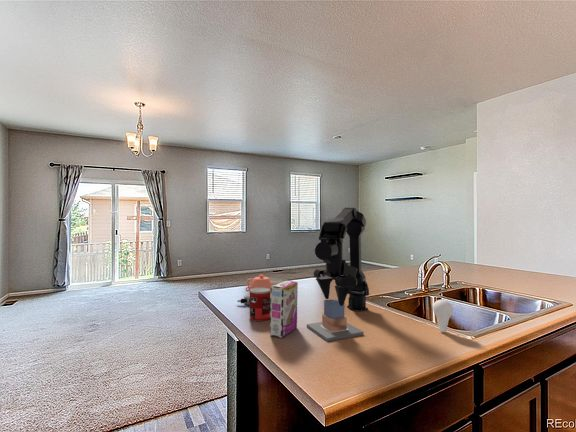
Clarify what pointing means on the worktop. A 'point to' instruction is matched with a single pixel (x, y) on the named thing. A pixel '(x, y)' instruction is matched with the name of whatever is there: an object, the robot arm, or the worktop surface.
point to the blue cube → (333, 309)
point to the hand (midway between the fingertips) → (334, 302)
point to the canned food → (259, 304)
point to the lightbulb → (442, 313)
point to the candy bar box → (283, 308)
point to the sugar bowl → (260, 283)
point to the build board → (334, 332)
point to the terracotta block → (334, 323)
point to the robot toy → (248, 299)
